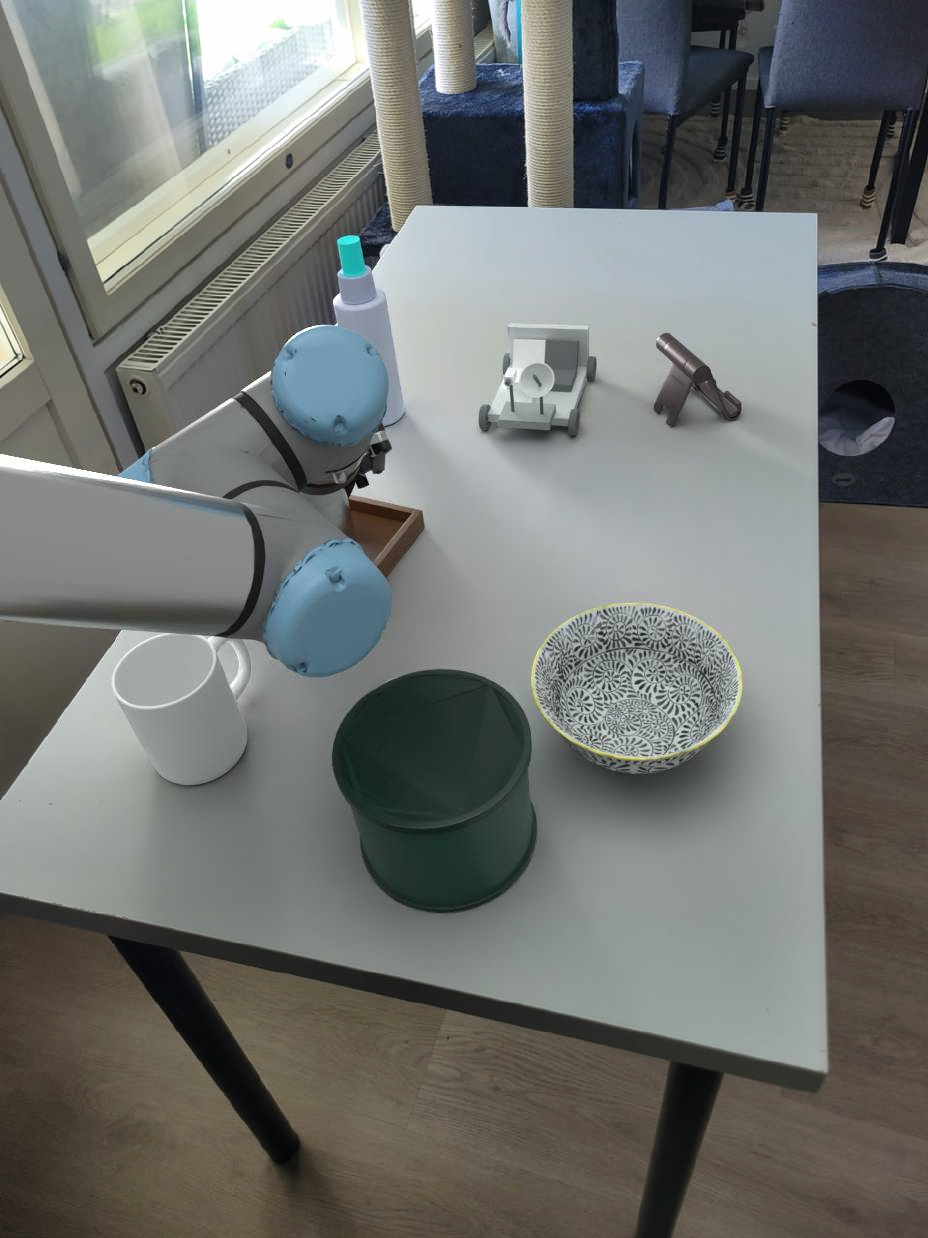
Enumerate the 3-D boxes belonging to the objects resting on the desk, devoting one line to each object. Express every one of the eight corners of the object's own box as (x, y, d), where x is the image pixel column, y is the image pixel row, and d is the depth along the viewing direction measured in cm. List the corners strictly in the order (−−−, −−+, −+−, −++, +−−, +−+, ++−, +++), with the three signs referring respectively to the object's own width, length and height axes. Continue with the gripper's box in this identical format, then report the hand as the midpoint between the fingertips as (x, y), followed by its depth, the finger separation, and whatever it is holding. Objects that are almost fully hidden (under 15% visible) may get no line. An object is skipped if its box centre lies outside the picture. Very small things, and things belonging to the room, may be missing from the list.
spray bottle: (407, 401, 117) (379, 226, 102) (402, 427, 113) (371, 249, 98) (361, 403, 118) (326, 230, 103) (353, 429, 114) (316, 253, 99)
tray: (221, 587, 95) (215, 570, 93) (303, 499, 104) (299, 482, 103) (350, 623, 89) (346, 606, 87) (425, 527, 98) (422, 510, 97)
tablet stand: (741, 419, 107) (749, 353, 101) (680, 437, 106) (685, 371, 100) (702, 384, 113) (708, 320, 107) (644, 401, 112) (647, 337, 106)
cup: (133, 765, 79) (88, 686, 72) (227, 672, 86) (194, 591, 79) (204, 803, 75) (163, 723, 68) (296, 702, 82) (268, 621, 75)
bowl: (724, 834, 68) (735, 774, 63) (515, 798, 73) (509, 738, 67) (739, 677, 79) (749, 614, 74) (556, 653, 83) (554, 591, 78)
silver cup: (272, 550, 94) (248, 477, 88) (310, 509, 98) (290, 436, 92) (331, 565, 91) (311, 491, 85) (367, 522, 96) (351, 448, 89)
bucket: (326, 875, 69) (292, 788, 62) (412, 739, 78) (392, 649, 70) (492, 943, 64) (478, 858, 57) (565, 790, 73) (561, 698, 65)
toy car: (570, 376, 99) (465, 371, 102) (571, 453, 106) (474, 446, 109) (596, 299, 111) (503, 297, 114) (596, 373, 118) (508, 369, 121)
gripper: (212, 525, 71) (223, 565, 93) (452, 445, 75) (408, 501, 98) (177, 434, 71) (197, 496, 93) (418, 359, 75) (382, 435, 98)
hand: (305, 498), depth 95 cm, fingers closed on silver cup, 7 cm apart
